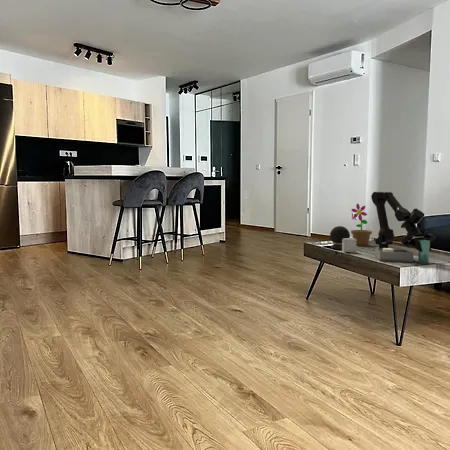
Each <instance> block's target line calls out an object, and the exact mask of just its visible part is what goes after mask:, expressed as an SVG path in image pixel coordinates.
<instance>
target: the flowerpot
mask: <svg viewBox="0 0 450 450" xmlns="http://www.w3.org/2000/svg"><path fill="white" fill-rule="evenodd" d="M360 206H361V205H360V204H359V203H356V206H355V207H356V208H351V212H352V213H354V215H352V218H353V219H357V217H358V220H359V221H360V223H358V224H356V225H355V227H358V228H360V229H353V230H350V234H352V238H354V239H356V240H357V241H356V246H357V245H359V246H360V247H363V246H364V247H366V246H367V245H368V246H369V245H370V240H371V239H370V238H371V235H373V231H372V230H368V229H363V225H367V224H368V223H369V222H368V221H367V220H366V219H363V216H367V215H368V214H367V212H365V211H364V210H365V209H366V205H363V206H361V207H360ZM359 246H358V247H359Z"/></svg>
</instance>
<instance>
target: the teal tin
mask: <svg viewBox="0 0 450 450" xmlns="http://www.w3.org/2000/svg"><path fill="white" fill-rule="evenodd" d="M419 244H420V246H421V249H422V252H420V251H418V258H417V263H418V264H419V265H429V264H428V263H430V252H429V247H430V240H419Z"/></svg>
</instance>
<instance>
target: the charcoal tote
mask: <svg viewBox="0 0 450 450" xmlns="http://www.w3.org/2000/svg"><path fill="white" fill-rule="evenodd" d="M393 249H394V252H382V251H383V249H379V248H375V252H374V253H375V255H374V257H375V258H376V259H377V260H378V261H379V262H405V263H408V262H409V263H414V252H413V251H410V250H409V249H401V248H397V249H396V248H393Z"/></svg>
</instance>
